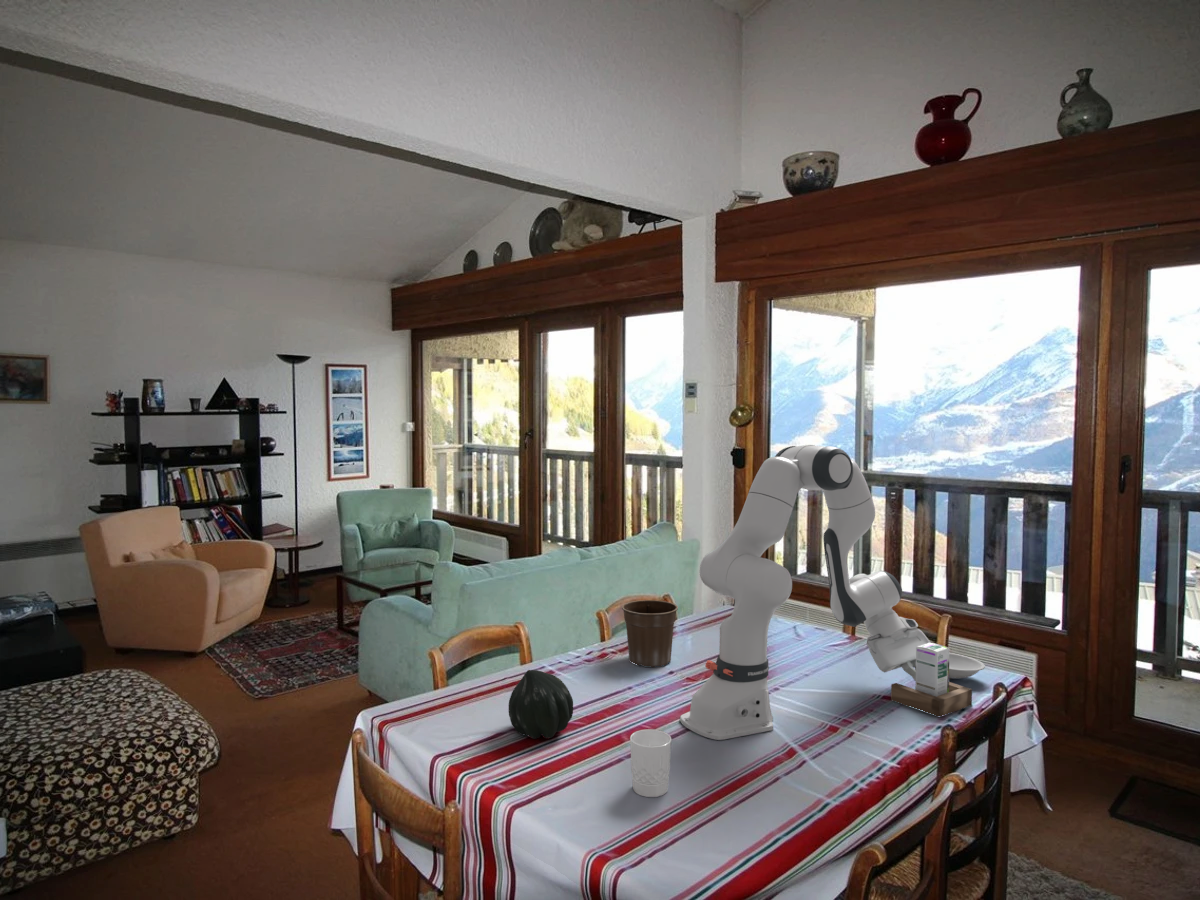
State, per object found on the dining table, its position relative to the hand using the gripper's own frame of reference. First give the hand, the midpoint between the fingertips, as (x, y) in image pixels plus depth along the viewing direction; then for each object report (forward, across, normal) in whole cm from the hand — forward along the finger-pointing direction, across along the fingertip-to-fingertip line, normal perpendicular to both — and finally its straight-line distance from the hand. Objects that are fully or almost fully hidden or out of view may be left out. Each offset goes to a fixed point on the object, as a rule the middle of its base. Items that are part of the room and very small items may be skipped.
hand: (921, 679), depth 189 cm
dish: (+1, +20, +7) cm, 21 cm away
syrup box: (+6, -1, +1) cm, 6 cm away
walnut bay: (+6, 0, +1) cm, 6 cm away
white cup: (+2, -85, +5) cm, 85 cm away
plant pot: (-39, -40, +47) cm, 73 cm away
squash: (-22, -90, +29) cm, 97 cm away
